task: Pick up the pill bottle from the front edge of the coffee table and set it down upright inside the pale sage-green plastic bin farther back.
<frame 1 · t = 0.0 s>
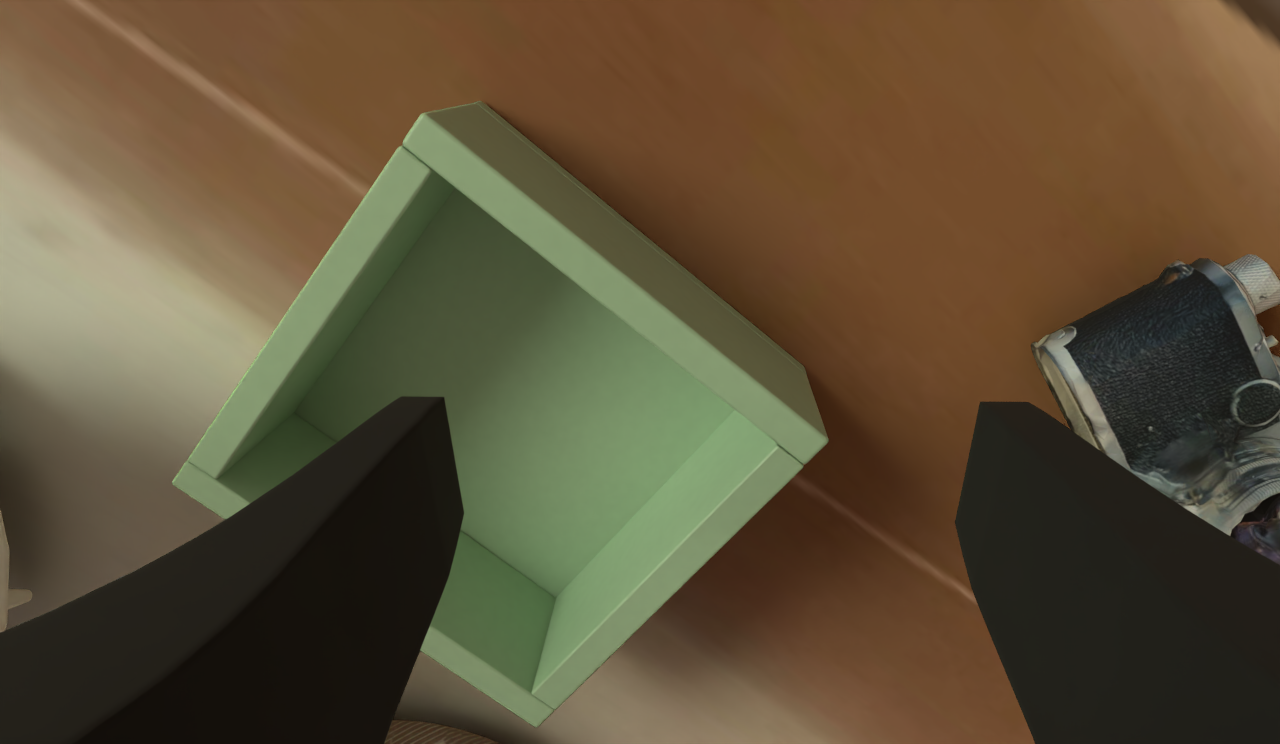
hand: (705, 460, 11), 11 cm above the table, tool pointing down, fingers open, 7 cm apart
camera: (1174, 431, 22), on the table
bin: (527, 387, 23), on the table
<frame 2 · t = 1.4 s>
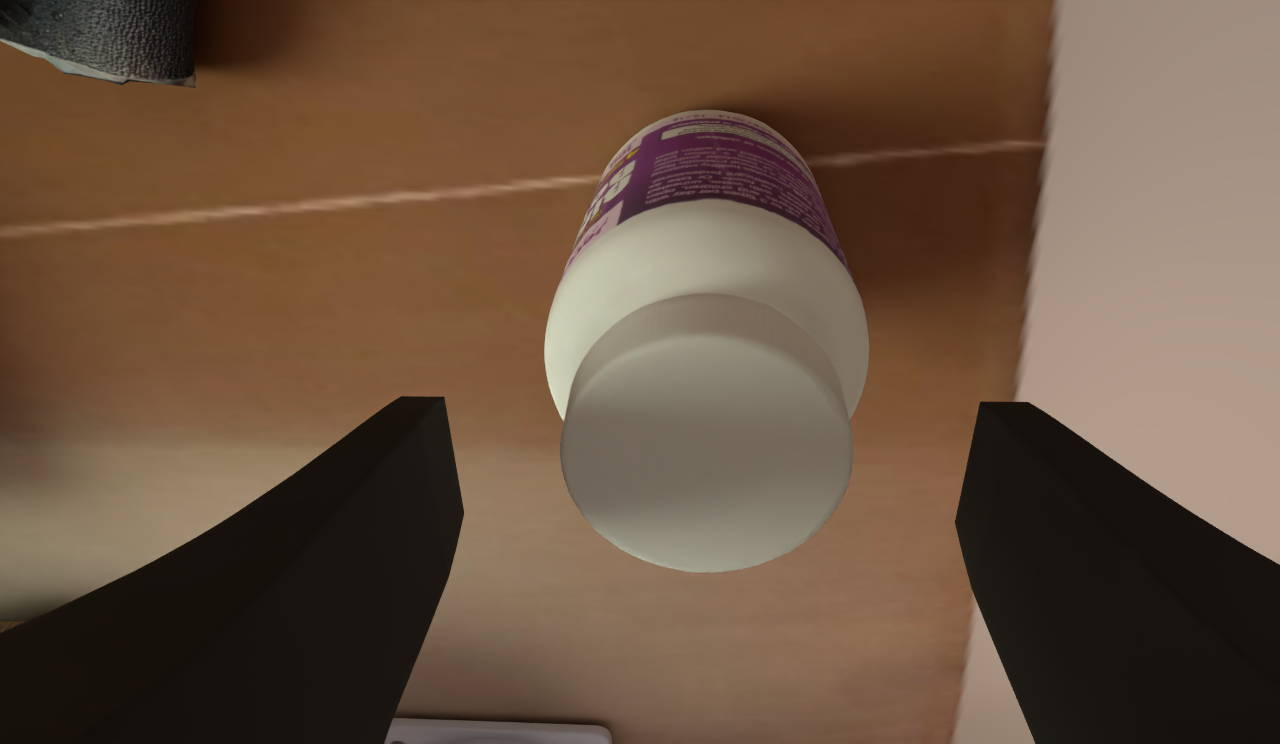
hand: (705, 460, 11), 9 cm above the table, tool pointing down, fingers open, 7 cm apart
pill bottle: (703, 219, 20), on the table
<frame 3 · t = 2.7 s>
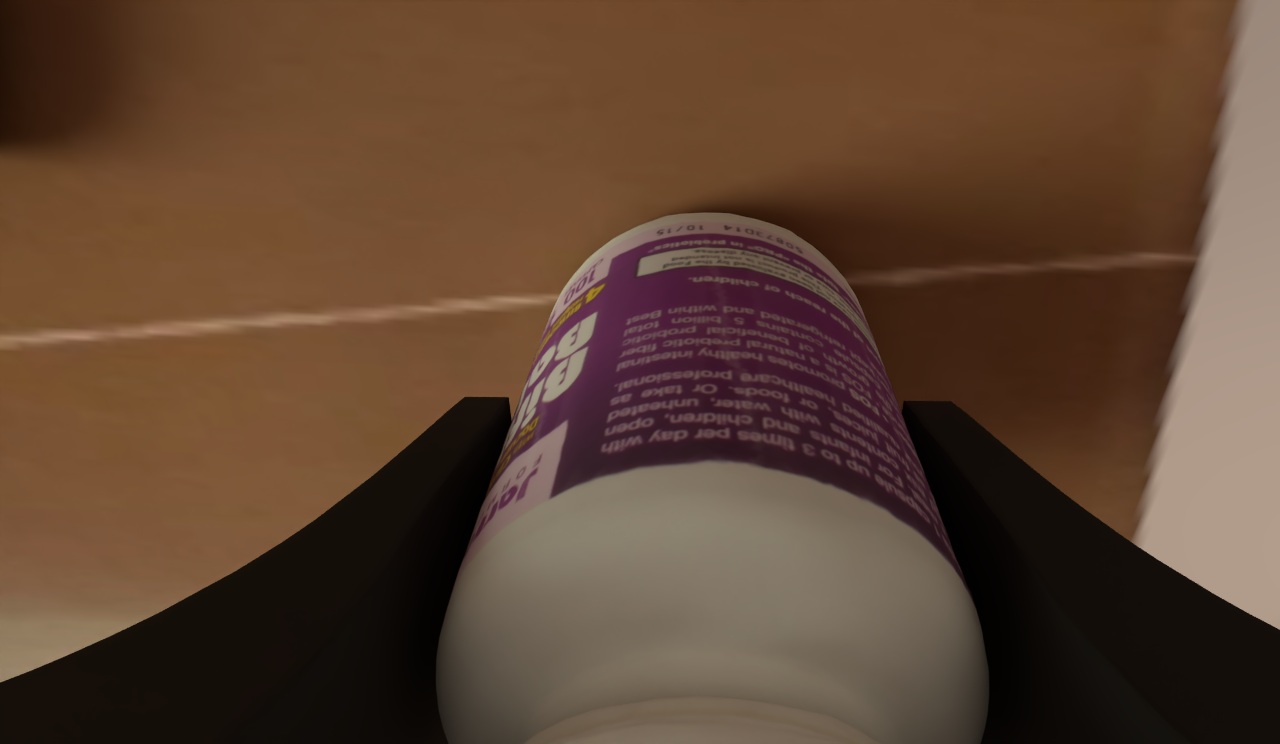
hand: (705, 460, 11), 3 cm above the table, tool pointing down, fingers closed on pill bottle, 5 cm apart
pill bottle: (701, 351, 14), on the table, touching gripper
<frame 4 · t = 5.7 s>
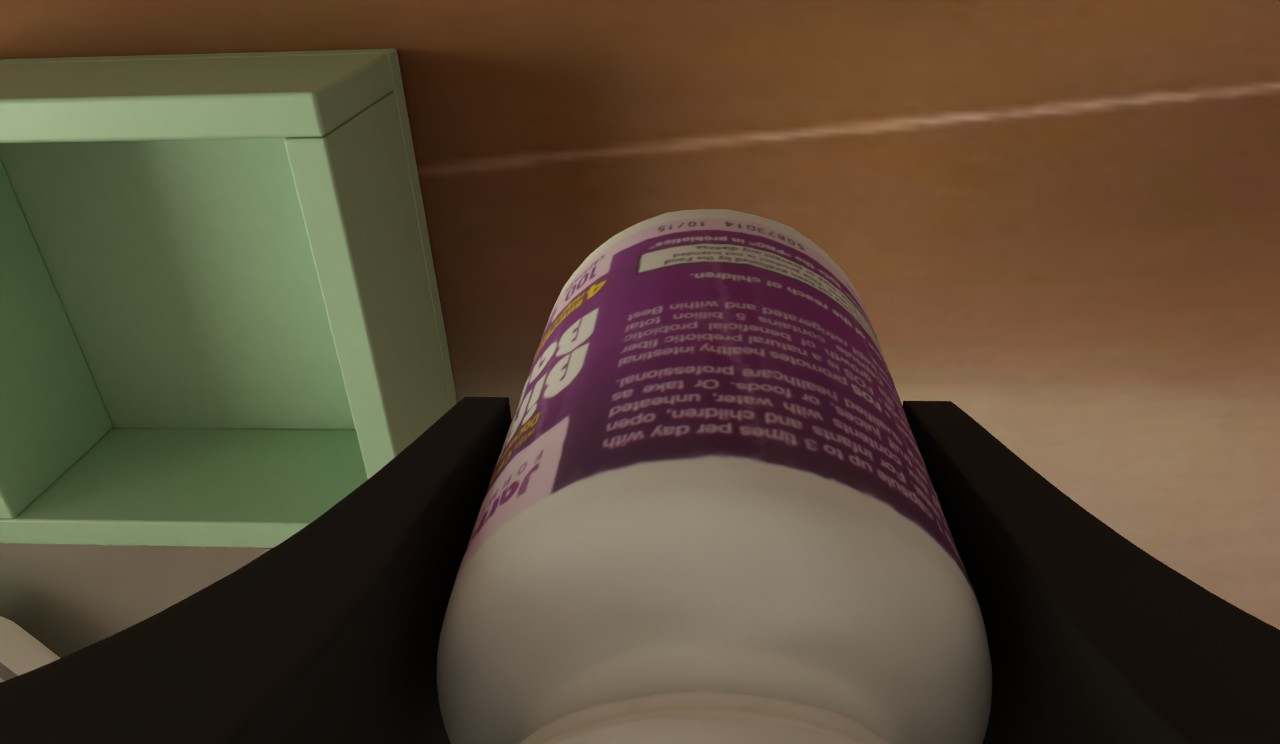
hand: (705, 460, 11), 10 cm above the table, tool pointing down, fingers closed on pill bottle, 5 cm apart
pill bottle: (702, 348, 14), point 7 cm above the table, touching gripper
bin: (234, 270, 22), on the table
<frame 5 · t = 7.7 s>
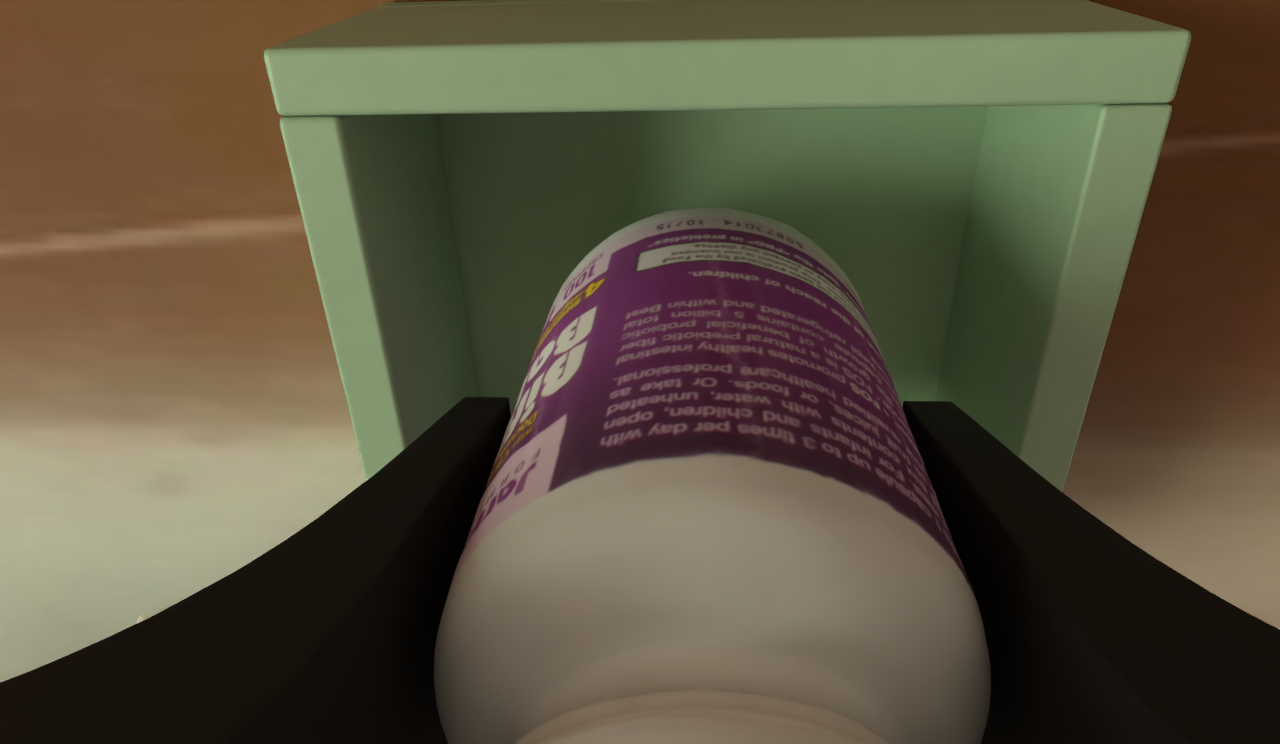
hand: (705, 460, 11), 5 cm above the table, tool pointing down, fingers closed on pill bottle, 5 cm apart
pill bottle: (701, 347, 14), point 2 cm above the table, touching gripper
bin: (703, 294, 16), on the table
when the fingers open (4 cm above the table, at t = 8.9 s): pill bottle stays where it is, resting on bin.
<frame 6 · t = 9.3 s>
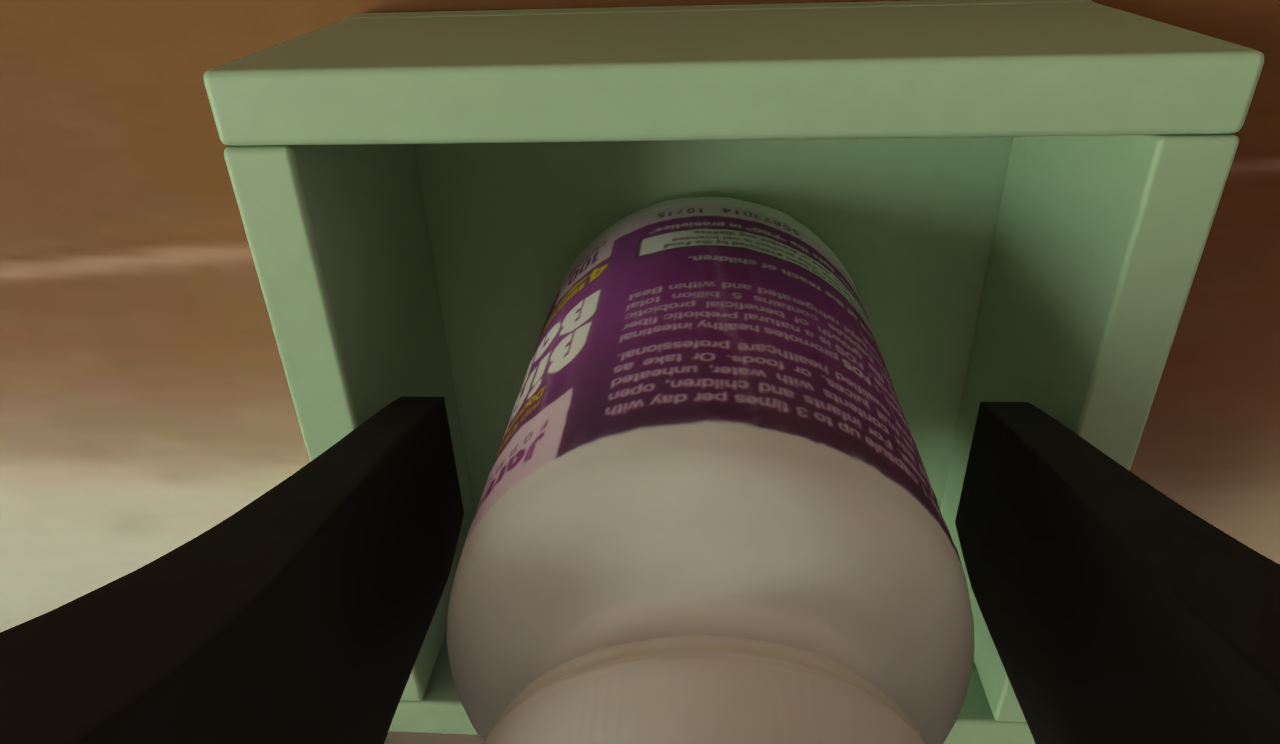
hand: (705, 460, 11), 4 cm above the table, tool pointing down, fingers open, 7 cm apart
pill bottle: (701, 333, 14), resting on bin
bin: (703, 326, 15), on the table
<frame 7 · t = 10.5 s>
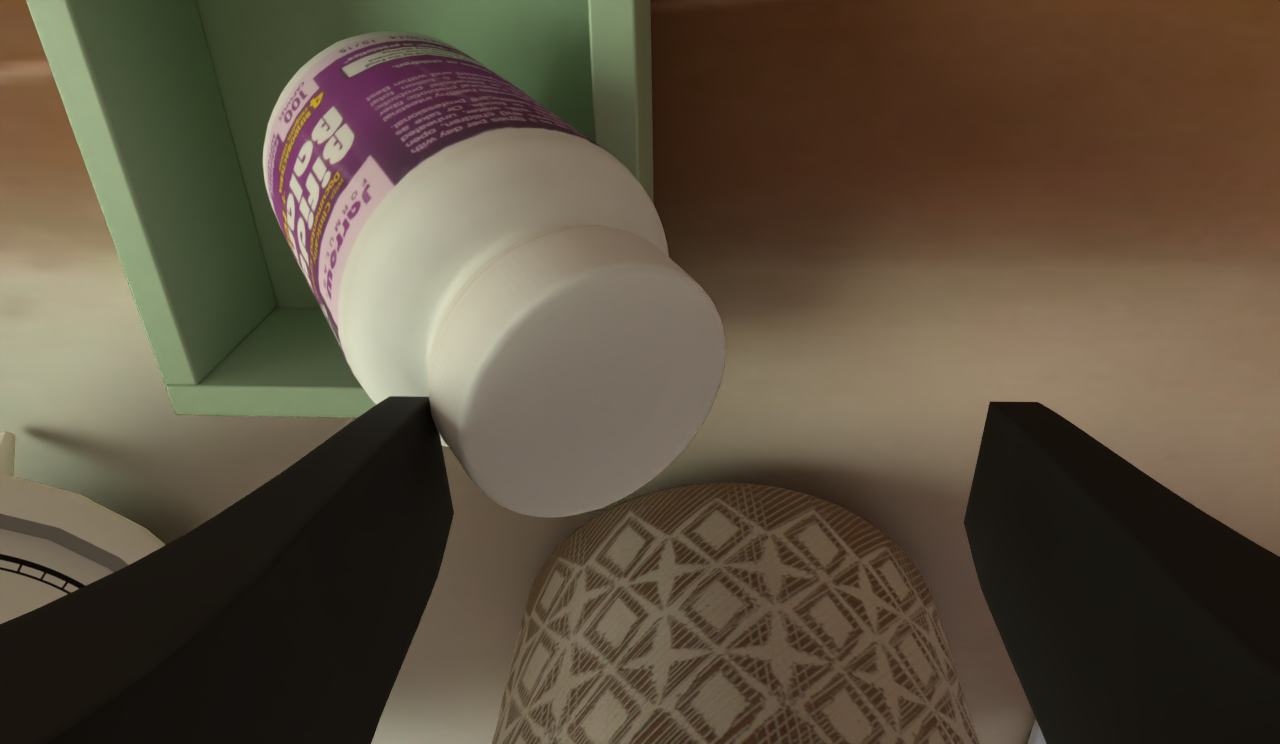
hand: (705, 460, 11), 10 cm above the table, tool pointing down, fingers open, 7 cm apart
alarm clock: (111, 560, 28), on the table
planter: (725, 612, 27), on the table
pill bottle: (389, 156, 18), point 2 cm above the table, touching bin, gripper
bin: (428, 124, 20), on the table
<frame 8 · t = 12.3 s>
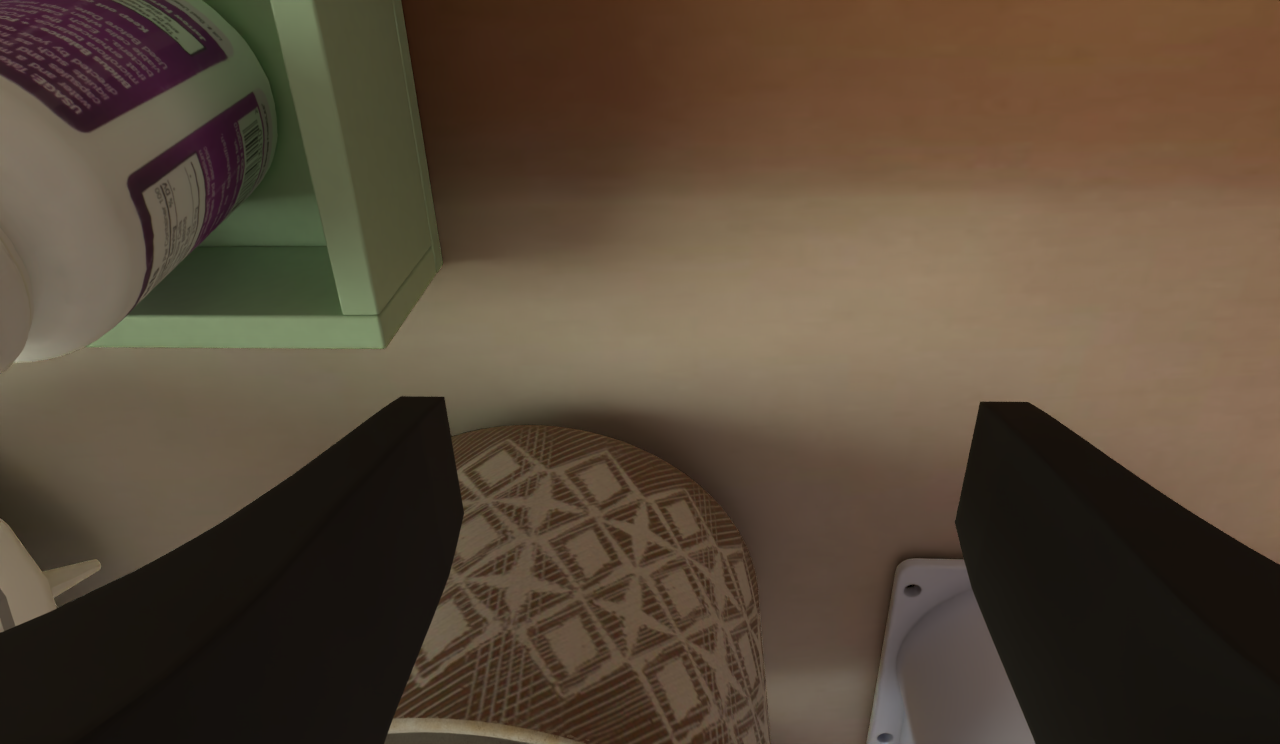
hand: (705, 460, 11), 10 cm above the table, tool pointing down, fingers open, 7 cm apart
planter: (556, 564, 27), on the table
pill bottle: (171, 95, 19), point 1 cm above the table, touching bin
bin: (185, 53, 19), on the table
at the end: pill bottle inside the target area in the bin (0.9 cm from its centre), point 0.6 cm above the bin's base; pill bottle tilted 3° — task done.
